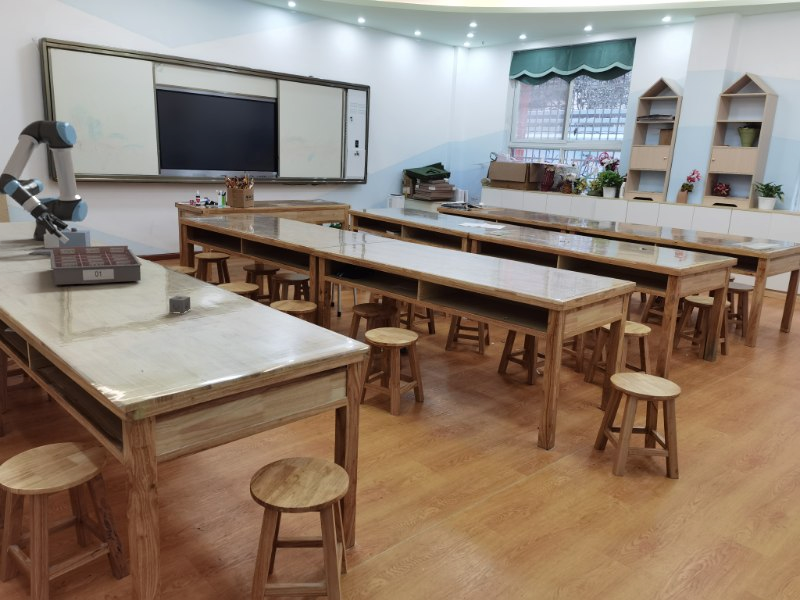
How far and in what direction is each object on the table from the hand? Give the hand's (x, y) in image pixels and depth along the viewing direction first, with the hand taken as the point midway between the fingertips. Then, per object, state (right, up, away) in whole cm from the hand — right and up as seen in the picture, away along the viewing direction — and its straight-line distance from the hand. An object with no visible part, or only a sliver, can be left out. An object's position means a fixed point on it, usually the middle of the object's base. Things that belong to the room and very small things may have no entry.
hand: (71, 240), depth 299 cm
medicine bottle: (-18, -2, +16) cm, 24 cm away
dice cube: (+87, -34, -91) cm, 131 cm away
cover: (+1, -6, +3) cm, 7 cm away
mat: (-13, -6, 0) cm, 15 cm away
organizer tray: (+35, -20, -44) cm, 60 cm away
